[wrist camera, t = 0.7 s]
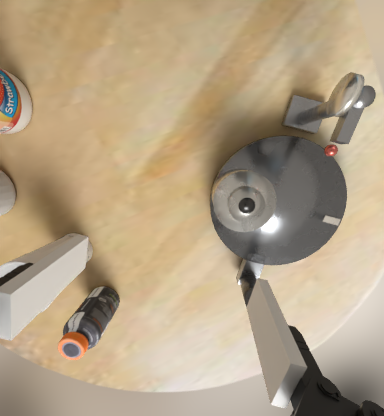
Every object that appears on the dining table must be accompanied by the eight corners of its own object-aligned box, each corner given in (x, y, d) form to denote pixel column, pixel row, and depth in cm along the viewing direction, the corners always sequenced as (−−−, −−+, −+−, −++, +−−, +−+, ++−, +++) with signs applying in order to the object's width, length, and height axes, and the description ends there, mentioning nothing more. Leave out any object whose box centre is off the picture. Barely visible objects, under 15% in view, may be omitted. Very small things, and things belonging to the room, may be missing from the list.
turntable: (231, 121, 31) (239, 111, 24) (362, 156, 31) (408, 157, 24) (189, 267, 38) (185, 293, 31) (297, 296, 38) (319, 329, 31)
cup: (85, 223, 38) (33, 254, 26) (104, 262, 40) (62, 307, 28) (47, 235, 39) (-19, 270, 27) (67, 272, 41) (12, 320, 29)
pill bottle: (89, 284, 41) (47, 331, 30) (119, 286, 41) (88, 335, 30) (92, 310, 43) (53, 364, 32) (120, 312, 42) (91, 368, 31)
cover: (220, 162, 31) (224, 164, 25) (273, 176, 31) (291, 182, 25) (205, 212, 33) (206, 227, 27) (255, 226, 33) (267, 243, 27)
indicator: (291, 96, 31) (356, 54, 18) (324, 105, 31) (414, 70, 18) (272, 151, 33) (318, 149, 20) (303, 159, 33) (369, 163, 20)
